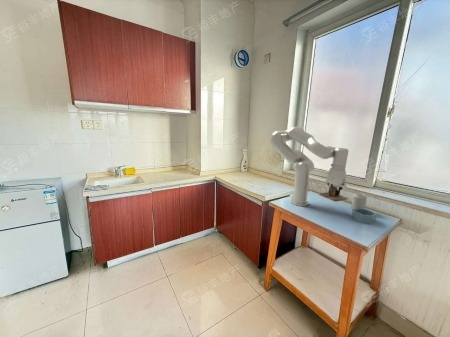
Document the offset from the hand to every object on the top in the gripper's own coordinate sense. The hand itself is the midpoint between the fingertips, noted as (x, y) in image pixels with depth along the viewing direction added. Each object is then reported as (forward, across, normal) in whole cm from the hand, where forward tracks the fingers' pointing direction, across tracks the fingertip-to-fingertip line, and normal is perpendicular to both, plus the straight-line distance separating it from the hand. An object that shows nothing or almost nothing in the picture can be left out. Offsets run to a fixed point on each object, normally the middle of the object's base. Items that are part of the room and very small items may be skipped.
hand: (333, 194), depth 125 cm
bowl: (+12, +16, +8) cm, 22 cm away
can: (+12, +6, +19) cm, 23 cm away
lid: (+2, 0, 0) cm, 2 cm away
